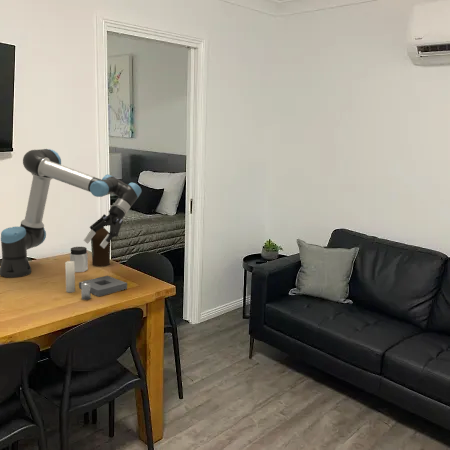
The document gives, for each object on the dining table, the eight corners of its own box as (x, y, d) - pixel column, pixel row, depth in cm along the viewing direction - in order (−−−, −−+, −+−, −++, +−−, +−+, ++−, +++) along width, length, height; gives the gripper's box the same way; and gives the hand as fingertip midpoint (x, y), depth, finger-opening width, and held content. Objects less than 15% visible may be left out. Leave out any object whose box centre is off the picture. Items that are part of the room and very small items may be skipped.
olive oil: (112, 261, 274) (111, 218, 269) (109, 267, 264) (108, 222, 259) (93, 261, 273) (92, 218, 268) (89, 266, 263) (88, 222, 258)
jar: (82, 273, 251) (81, 250, 249) (67, 271, 252) (67, 249, 250) (90, 268, 260) (89, 247, 257) (76, 267, 261) (75, 245, 259)
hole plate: (79, 288, 227) (78, 282, 227) (107, 281, 239) (107, 275, 239) (98, 296, 217) (98, 290, 216) (127, 289, 229) (127, 283, 228)
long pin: (64, 291, 223) (63, 262, 220) (72, 289, 226) (71, 260, 223) (69, 293, 220) (68, 263, 218) (76, 291, 223) (76, 262, 221)
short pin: (79, 298, 214) (79, 283, 213) (87, 296, 217) (87, 281, 216) (84, 300, 212) (84, 285, 210) (92, 298, 215) (92, 283, 213)
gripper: (139, 218, 230) (114, 253, 222) (108, 211, 247) (84, 244, 238) (130, 208, 226) (104, 244, 217) (99, 202, 242) (74, 235, 234)
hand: (93, 244), depth 228 cm, fingers open, 13 cm apart
